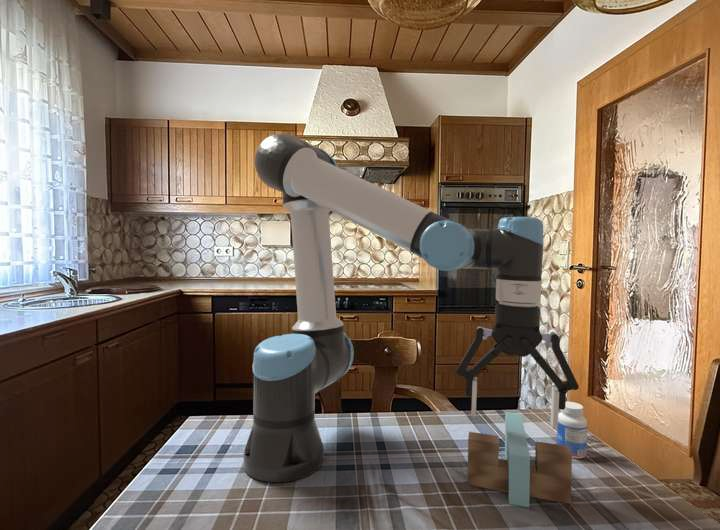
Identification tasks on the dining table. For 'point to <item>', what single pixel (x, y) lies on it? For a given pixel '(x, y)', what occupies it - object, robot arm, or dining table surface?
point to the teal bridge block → (517, 460)
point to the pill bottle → (573, 429)
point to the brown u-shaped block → (545, 475)
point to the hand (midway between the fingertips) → (512, 420)
